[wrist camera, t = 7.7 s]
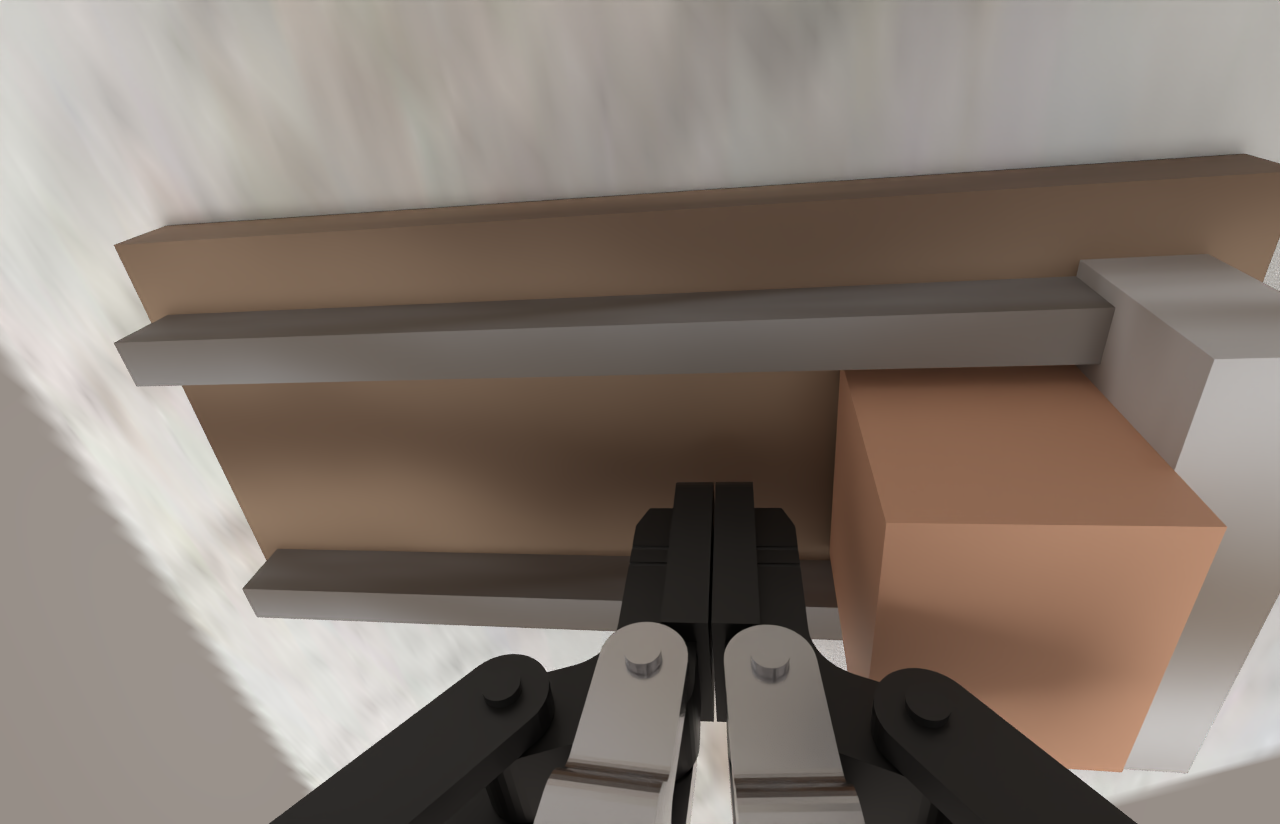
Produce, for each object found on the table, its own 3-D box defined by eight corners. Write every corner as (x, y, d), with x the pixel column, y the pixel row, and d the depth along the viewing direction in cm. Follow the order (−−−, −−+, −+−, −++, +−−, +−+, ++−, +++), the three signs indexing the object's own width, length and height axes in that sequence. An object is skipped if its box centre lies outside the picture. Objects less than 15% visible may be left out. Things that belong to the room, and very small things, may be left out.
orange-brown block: (840, 358, 13) (885, 523, 9) (1064, 352, 13) (1227, 527, 8) (829, 553, 16) (860, 755, 11) (1014, 556, 15) (1121, 771, 11)
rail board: (165, 225, 16) (-84, 317, 11) (1244, 153, 12) (1563, 243, 7) (321, 579, 21) (199, 742, 16) (1096, 602, 18) (1226, 818, 13)
